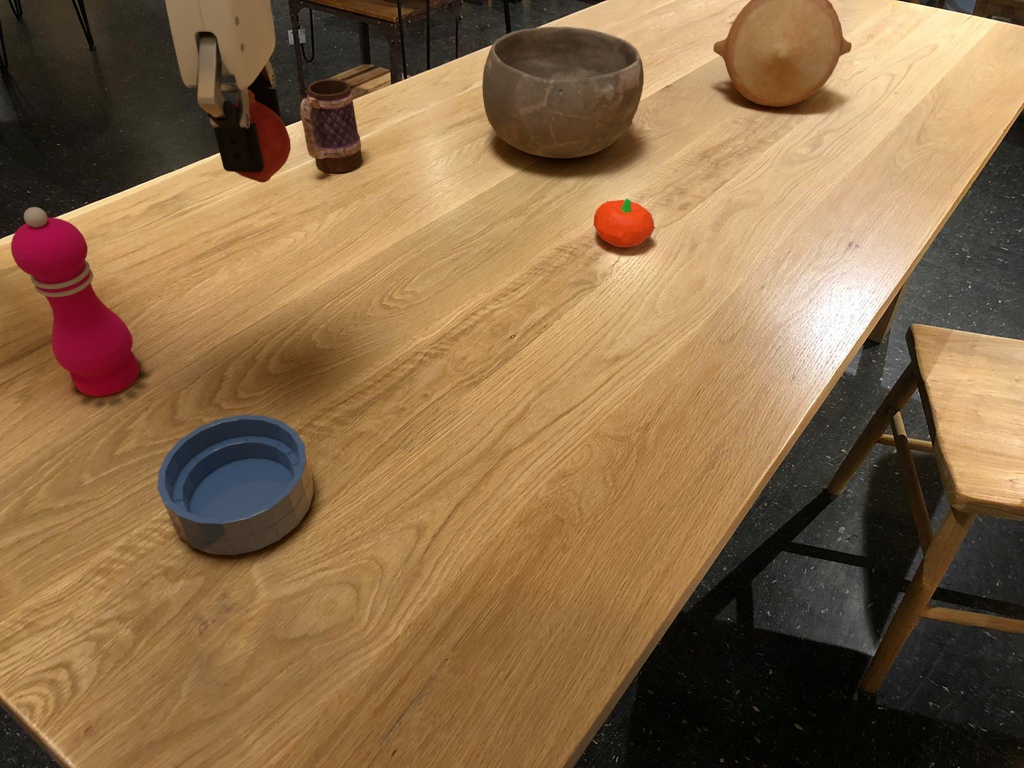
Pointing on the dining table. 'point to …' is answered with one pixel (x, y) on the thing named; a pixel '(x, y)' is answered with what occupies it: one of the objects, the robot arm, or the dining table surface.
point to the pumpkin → (623, 223)
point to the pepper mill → (75, 305)
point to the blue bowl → (236, 484)
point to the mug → (331, 126)
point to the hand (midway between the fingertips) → (255, 149)
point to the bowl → (561, 90)
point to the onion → (268, 139)
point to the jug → (782, 49)
